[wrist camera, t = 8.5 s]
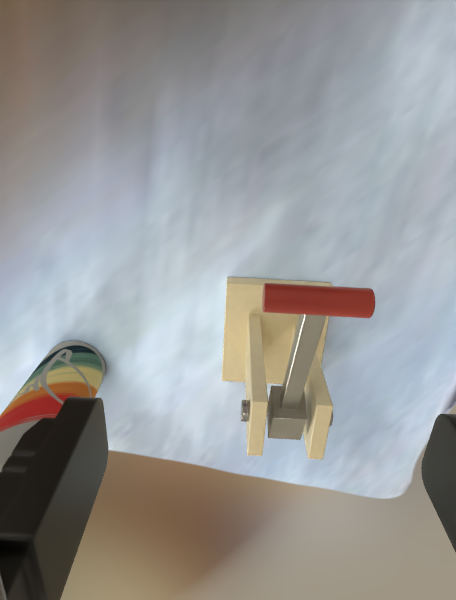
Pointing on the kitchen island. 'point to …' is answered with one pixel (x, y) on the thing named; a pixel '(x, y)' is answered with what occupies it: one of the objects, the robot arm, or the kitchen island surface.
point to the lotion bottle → (50, 390)
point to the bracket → (270, 362)
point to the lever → (305, 343)
